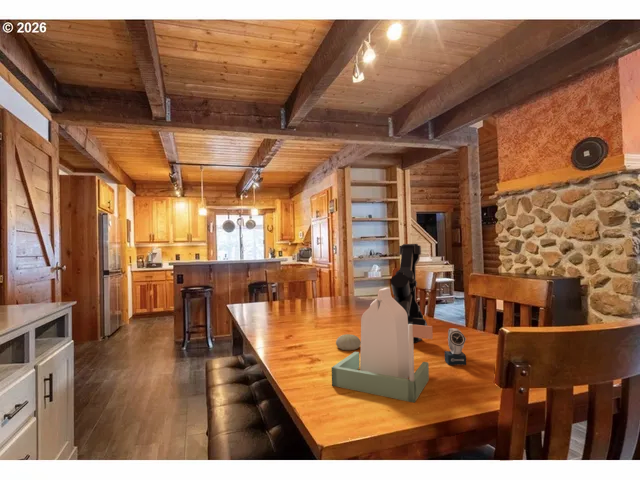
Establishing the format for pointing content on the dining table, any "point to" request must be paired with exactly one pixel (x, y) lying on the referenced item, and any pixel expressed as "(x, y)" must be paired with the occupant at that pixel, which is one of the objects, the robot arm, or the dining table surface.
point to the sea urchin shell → (348, 342)
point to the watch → (455, 348)
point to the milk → (385, 337)
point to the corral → (385, 385)
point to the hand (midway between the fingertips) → (391, 347)
